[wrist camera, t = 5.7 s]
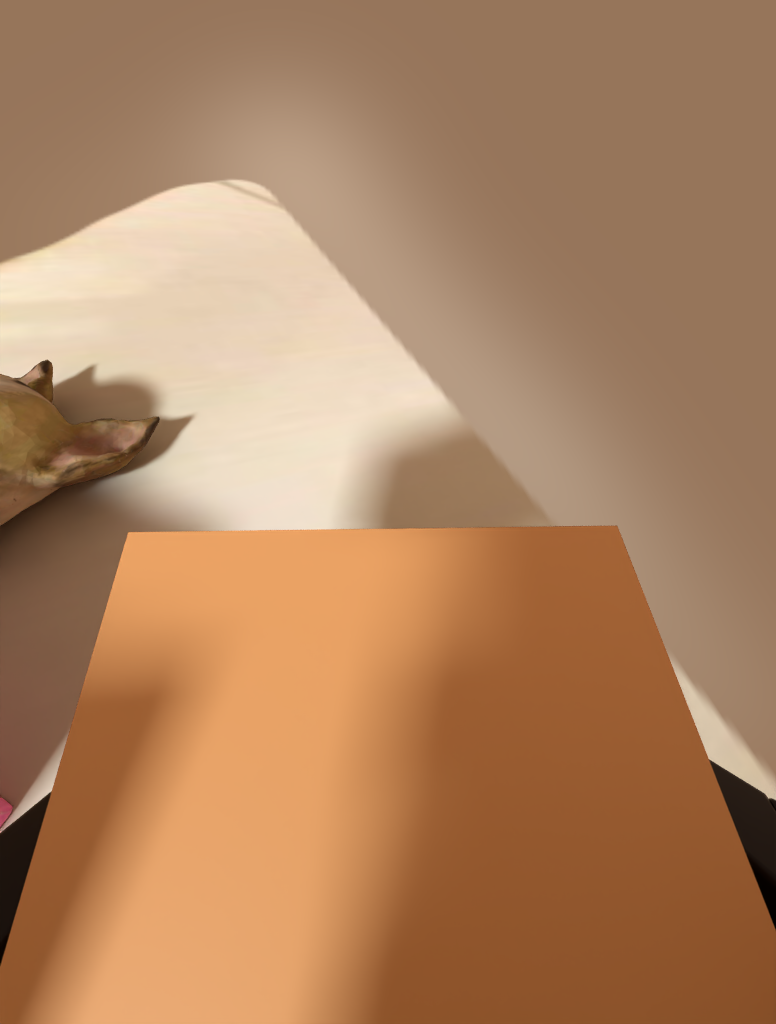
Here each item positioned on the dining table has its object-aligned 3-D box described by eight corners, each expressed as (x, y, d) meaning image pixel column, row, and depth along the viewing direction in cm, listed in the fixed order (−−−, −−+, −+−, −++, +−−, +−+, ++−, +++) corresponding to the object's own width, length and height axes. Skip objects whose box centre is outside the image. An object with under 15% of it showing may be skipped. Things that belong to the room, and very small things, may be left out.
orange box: (466, 846, 11) (999, 1496, 2) (261, 871, 10) (-327, 2074, 1) (440, 632, 14) (612, 512, 5) (278, 640, 13) (132, 516, 4)
